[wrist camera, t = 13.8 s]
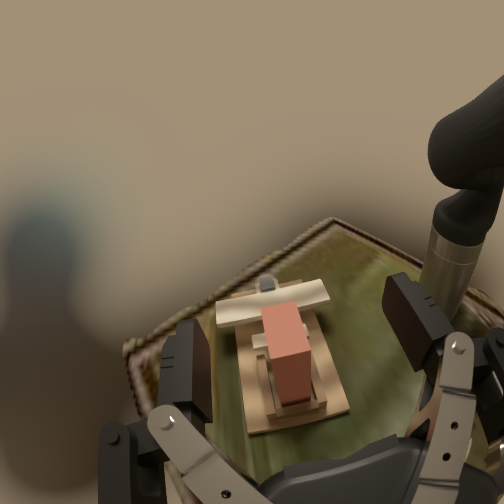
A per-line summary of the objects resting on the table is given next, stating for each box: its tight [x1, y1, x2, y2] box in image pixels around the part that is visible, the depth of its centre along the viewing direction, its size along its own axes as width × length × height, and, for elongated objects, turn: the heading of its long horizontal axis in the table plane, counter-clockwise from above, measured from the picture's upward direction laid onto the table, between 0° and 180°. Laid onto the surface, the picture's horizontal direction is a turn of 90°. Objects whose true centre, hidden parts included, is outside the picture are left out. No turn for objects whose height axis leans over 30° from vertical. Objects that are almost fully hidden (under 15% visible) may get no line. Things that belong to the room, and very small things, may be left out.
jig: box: [216, 274, 350, 435], centre depth 41 cm, size 28×18×7 cm, turn 7°
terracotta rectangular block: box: [260, 301, 311, 408], centre depth 32 cm, size 7×4×14 cm, turn 6°
